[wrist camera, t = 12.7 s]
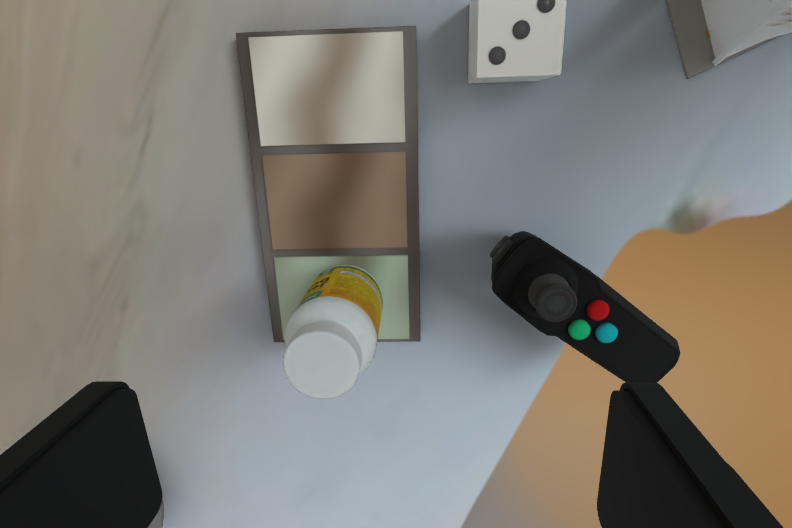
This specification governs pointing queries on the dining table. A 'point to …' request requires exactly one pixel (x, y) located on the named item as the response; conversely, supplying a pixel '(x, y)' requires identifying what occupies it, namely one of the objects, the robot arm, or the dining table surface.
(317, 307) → the supplement bottle
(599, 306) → the controller
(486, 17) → the die
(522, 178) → the dining table surface
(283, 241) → the game strip
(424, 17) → the dining table surface
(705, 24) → the skyscraper
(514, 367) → the dining table surface
